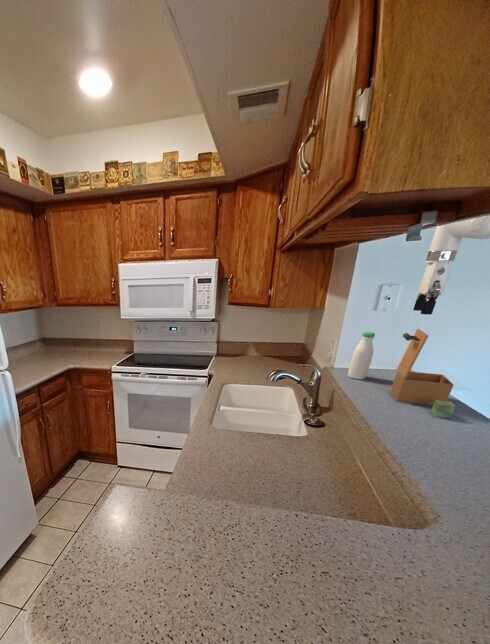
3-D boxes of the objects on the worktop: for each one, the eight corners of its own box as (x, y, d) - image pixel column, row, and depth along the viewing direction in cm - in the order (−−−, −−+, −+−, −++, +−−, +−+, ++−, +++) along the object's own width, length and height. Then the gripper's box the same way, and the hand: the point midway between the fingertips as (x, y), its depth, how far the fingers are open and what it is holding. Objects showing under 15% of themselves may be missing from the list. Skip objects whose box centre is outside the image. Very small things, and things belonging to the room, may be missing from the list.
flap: (419, 329, 123) (404, 326, 125) (428, 335, 113) (412, 332, 115) (399, 369, 132) (384, 366, 133) (406, 378, 122) (390, 375, 123)
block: (445, 413, 116) (451, 401, 114) (450, 418, 112) (455, 406, 110) (430, 411, 118) (435, 399, 115) (434, 416, 114) (439, 404, 112)
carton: (434, 395, 131) (442, 374, 127) (444, 406, 121) (453, 384, 117) (390, 390, 136) (397, 370, 132) (396, 400, 126) (404, 379, 122)
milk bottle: (367, 380, 147) (380, 335, 137) (348, 378, 149) (360, 333, 140) (364, 375, 153) (377, 331, 143) (346, 373, 155) (358, 330, 146)
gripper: (464, 257, 100) (442, 316, 108) (445, 257, 114) (427, 309, 122) (435, 257, 102) (415, 315, 110) (420, 257, 116) (404, 308, 124)
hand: (421, 312), depth 116 cm, fingers open, 9 cm apart
